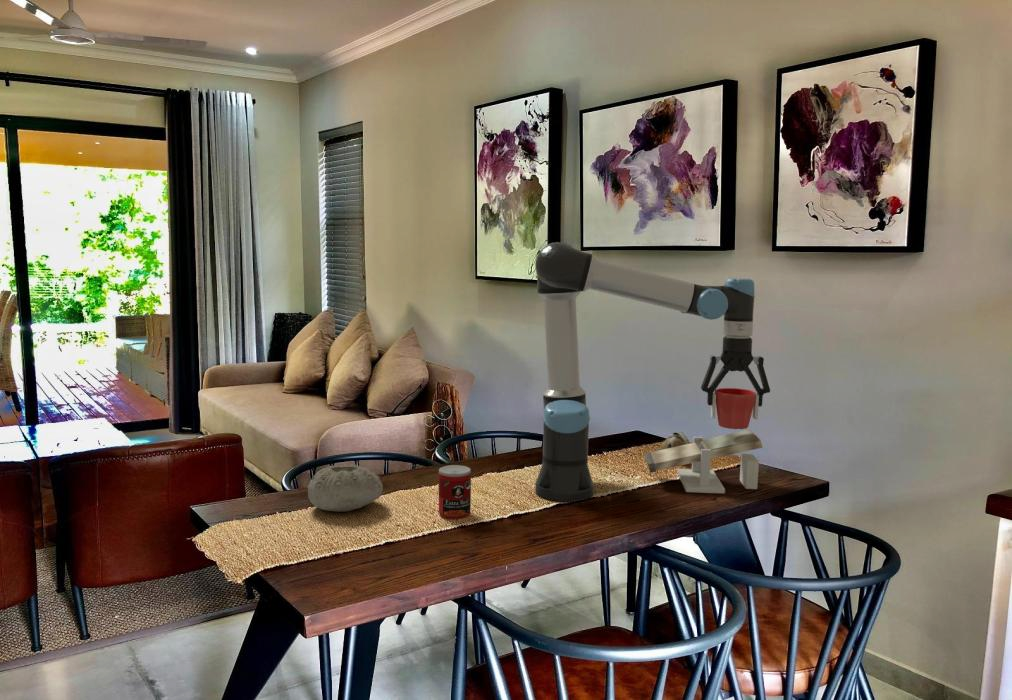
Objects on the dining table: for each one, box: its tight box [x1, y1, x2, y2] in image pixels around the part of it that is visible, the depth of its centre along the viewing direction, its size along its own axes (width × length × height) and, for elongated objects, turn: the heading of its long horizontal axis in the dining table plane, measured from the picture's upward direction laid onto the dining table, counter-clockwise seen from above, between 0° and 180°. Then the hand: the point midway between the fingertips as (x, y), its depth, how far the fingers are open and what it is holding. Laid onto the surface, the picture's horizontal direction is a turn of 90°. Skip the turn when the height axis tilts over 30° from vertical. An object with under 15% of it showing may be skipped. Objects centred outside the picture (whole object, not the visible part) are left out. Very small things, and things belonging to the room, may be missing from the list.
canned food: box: [438, 464, 472, 520], centre depth 193 cm, size 8×8×11 cm
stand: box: [676, 436, 760, 494], centre depth 222 cm, size 20×18×11 cm
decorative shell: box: [306, 464, 384, 513], centre depth 197 cm, size 18×18×10 cm
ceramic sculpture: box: [654, 431, 691, 451], centre depth 246 cm, size 11×9×15 cm
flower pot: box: [714, 387, 757, 430], centre depth 219 cm, size 11×11×10 cm
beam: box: [644, 429, 763, 474], centre depth 222 cm, size 30×12×3 cm, turn 85°
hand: (733, 417), depth 220 cm, fingers closed on flower pot, 10 cm apart
